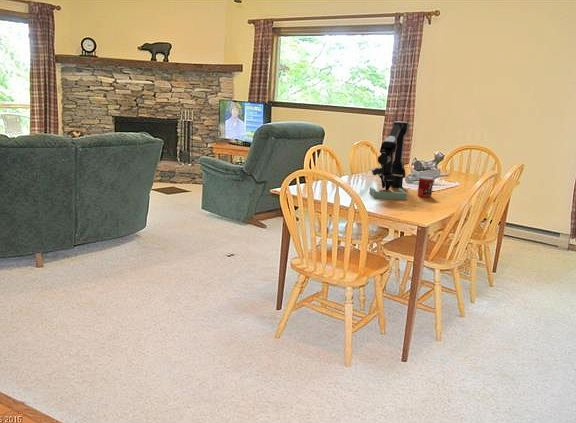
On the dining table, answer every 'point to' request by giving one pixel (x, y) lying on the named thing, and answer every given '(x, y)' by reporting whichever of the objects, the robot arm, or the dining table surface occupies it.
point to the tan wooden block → (385, 190)
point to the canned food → (425, 186)
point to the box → (389, 194)
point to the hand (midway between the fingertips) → (384, 189)
